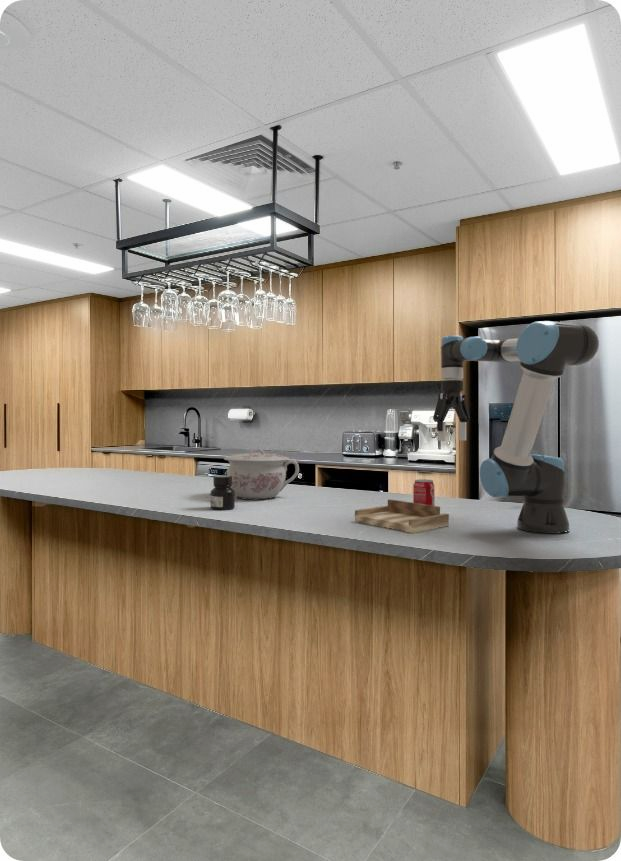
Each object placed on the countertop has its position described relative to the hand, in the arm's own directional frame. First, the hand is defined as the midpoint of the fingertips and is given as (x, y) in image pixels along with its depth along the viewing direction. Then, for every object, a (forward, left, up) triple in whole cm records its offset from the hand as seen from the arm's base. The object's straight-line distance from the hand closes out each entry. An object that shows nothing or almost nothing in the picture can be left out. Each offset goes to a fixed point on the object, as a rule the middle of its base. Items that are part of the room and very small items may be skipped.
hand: (452, 440), depth 210 cm
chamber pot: (+77, +28, -27) cm, 86 cm away
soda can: (+2, +13, -27) cm, 30 cm away
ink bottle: (+62, +55, -27) cm, 87 cm away
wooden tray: (0, +27, -26) cm, 38 cm away
